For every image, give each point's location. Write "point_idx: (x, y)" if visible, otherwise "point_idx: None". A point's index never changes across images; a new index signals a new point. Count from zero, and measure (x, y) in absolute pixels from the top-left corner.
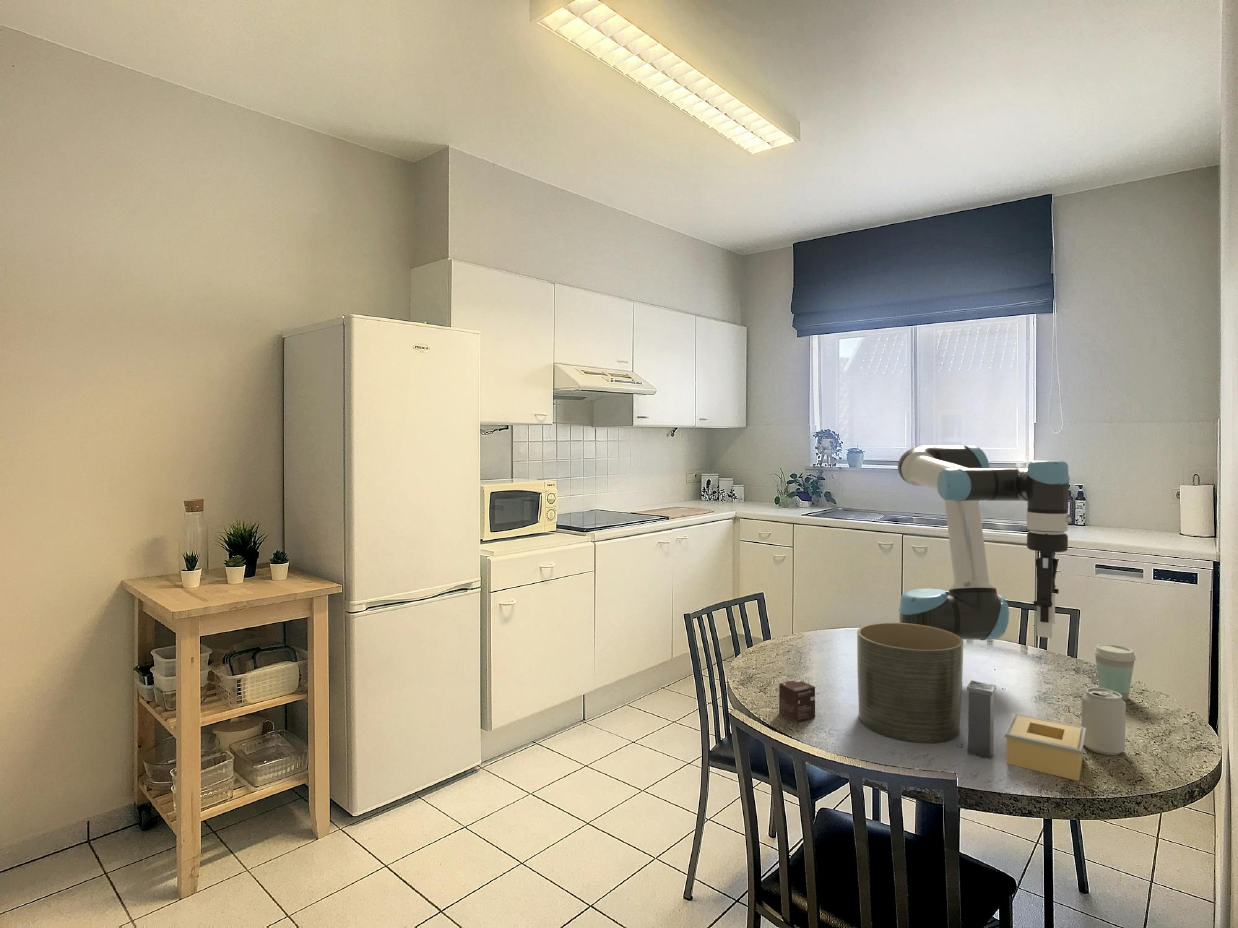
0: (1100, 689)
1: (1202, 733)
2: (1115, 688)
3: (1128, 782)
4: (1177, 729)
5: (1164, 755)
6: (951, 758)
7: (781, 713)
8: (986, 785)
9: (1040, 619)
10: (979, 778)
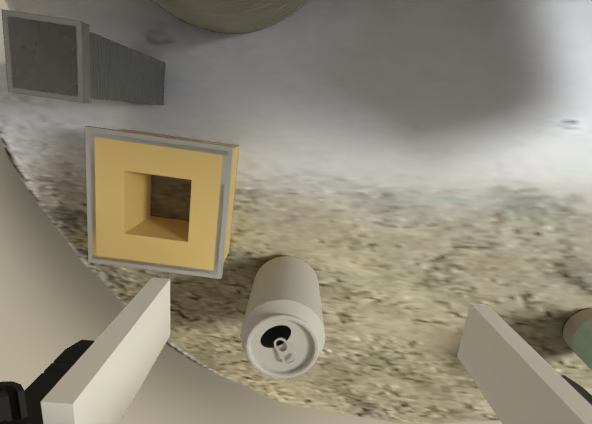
0: (313, 344)
1: (430, 419)
2: (579, 343)
3: None
4: (434, 392)
5: None
6: None
7: None
8: (3, 95)
9: (67, 349)
10: None
